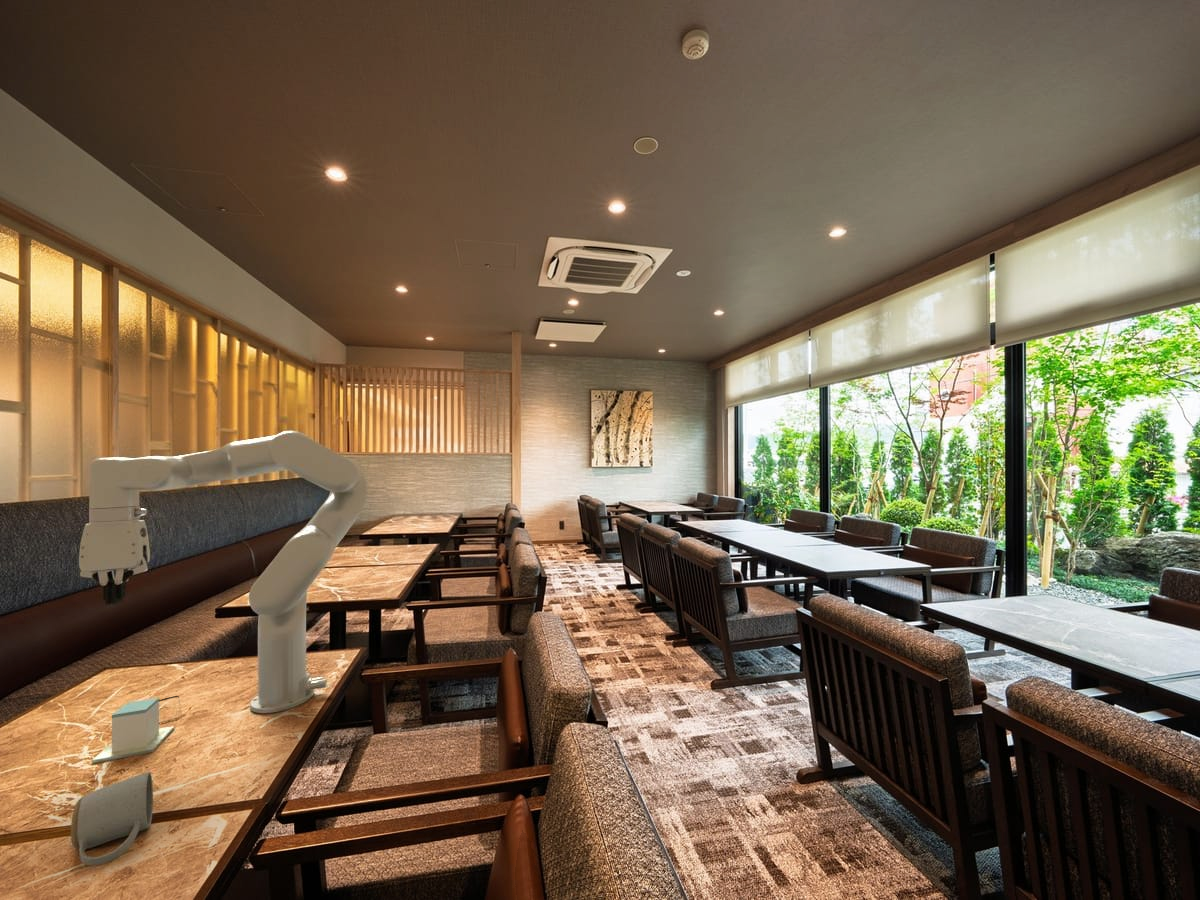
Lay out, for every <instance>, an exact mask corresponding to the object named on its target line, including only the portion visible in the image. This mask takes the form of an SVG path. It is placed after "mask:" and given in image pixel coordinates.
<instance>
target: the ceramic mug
mask: <svg viewBox="0 0 1200 900" xmlns="http://www.w3.org/2000/svg"><path fill="white" fill-rule="evenodd" d="M153 789H154V788H153V777H152V773H151V772H150V771H146V772H143V773H140V774H138V775H134V776H132V777H130V778H126V779H124V780H122V781H118V782H116V783H113V784H109V785H108V786H104V787H102V788H100V789H97V790H94V791H92V792H89V793H87V794H85V795H84V796H82V797H81V798H79V799H78V800H77V801H76V803H75V805H74V808H73V810H72V811H73V812H72V817H71V823H70V824H71V825H70V826H71V827H70V838H71V839H70V841H71V845H72V848H74V849H75V850H77V851H78V852H79V858H80V862H82V863H83V864H84V865H86V866H89V867H97V866H101V865H104V864H107V863H110V862H112V861H113V860H115V859H117V858H119V857H120V856H122V855H123V854H125V852H127V850H129V848H130V847H131V846H132V844H133V843H134V841H135V839H136V837H137V836H138V833H139V832H141V831H144V830H147V829H149V827H151V824H152V819H153V810H154V790H153ZM124 837H127V838H126V839H125V841H123V842H122V843H121V844H120V845H118V847H117V848H115V849H114V850H112V851H111V852H109V853H106V854H103V855H99V856H91V855H89V856H88V855H87V854H86V851H85V850H87V849H91V848H94V847H98V846H101V845H103V844H105V843H108V842H112V841H115V840H117V839H121V838H124Z"/></svg>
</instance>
